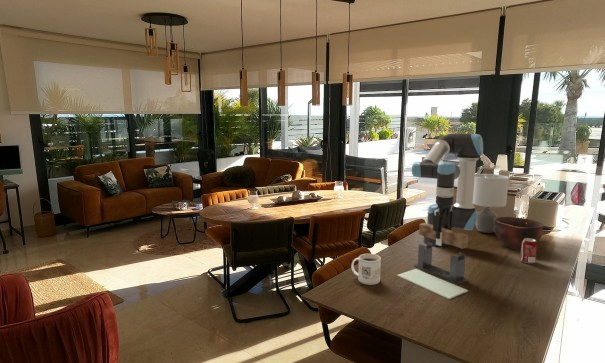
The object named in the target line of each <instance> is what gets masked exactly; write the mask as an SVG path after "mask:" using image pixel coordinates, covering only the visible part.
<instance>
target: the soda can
mask: <svg viewBox="0 0 605 363" xmlns="http://www.w3.org/2000/svg"><path fill="white" fill-rule="evenodd" d="M537 250H538V242H536V240H535V239H532V238H524V240H523V241H522V248H521V250H520V258H519V259H520V261H521V262H522V263H525V264H528V265H531V264H535V263H536V260H537V259H536V258H537Z"/></svg>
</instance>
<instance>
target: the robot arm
mask: <svg viewBox="0 0 605 363" xmlns="http://www.w3.org/2000/svg"><path fill="white" fill-rule="evenodd" d="M451 154H452V155H456V159H458V164H457V163H454V162H451V161H450V162H449V161H442V159H443V158H444V157H445V156H446V155H447V156H448V155H451ZM483 155H484V140H483V137H482V135H481V134H477V133H454V132H453V133H447V134H444V135H443V136H442V135H441V137H439V138H437V139H436V140H435V141H434V142H433V143H432V146H431V148H430V151H429V152H428V153H427V154H426V155H425V157H424V158H423V159H422V160H421V162H420V161H415V162H413V164H412V165H411V174H412V176H413V177H416V178H423V179H434V180H435V179H436V192H435V194H436V196H435V203H433V204H430V205H429V206H428V209H427V210H428V211H427V222H426V223H428V224H431V225H433V231H436V240H434V239H431V238H428V237H425V236H423V238H422V239H423V240H422V241H423V243H424V244H427V242H429V243H432V244H433V246H432V247H446V246H450V245H449V244H446V243H443V242H442V232H441V230H442V228H445V229H449V230H452V229H459V230H464V231H472V230H474V228H475V227H476V225H475V224H476V220H477V216H478V213H479V211H478V210H477V209H476V205H475V204H473V192H474V180H475V174H476V168H477V166H476V165H477V161H478V160H479V159H480V157H481V156H483ZM441 161H442V162H441ZM456 179H457V186H456V188H457V189H456V198H455V199H456V201H455V203H454V197H453V196H454V193H455V192H454V190H455V181H456ZM453 203H454V204H453Z"/></svg>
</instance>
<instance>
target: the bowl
mask: <svg viewBox="0 0 605 363" xmlns="http://www.w3.org/2000/svg"><path fill="white" fill-rule="evenodd" d="M494 222H495V225H494V229H493V231H494V232H493V233H494V234H495V236H496V237H497V238H498V239H499V240H500V241H501V242H502V244H503V245H504V246H505V247H506V248H510V249H512V250H520V251H521V248H522V241H523V240H524V238H532V239H535V240H536V243H538V242H539V241H540V239H541V238H542V236H543V233H542V232H543V228H544V227H545V225H544V224H543V223H542V222H539V221H537V220H532V219H529V218H522V217H515V216H497V217H496V218H494Z"/></svg>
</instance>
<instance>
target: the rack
mask: <svg viewBox="0 0 605 363" xmlns="http://www.w3.org/2000/svg"><path fill="white" fill-rule="evenodd" d="M425 244H426V243H425ZM433 247H434V246H433V244H432V243H429V242H427V244H426V245H423V244H421V243H420V244H419V243H418V255H417V263H415V264H413V267H415V268H416V269H419V270H421V271H423V272H424V271H425V272H426V273H428V274H429V273H430V274H432V275H433V276H436V277H438V278H442V279H443V280H444V279H445V280H446V281H448V282H452V283H453V284H455V285H456V284H457V285H460V284H463V283H466V282H468V281H469V279H468V278H466V277H465V267H466V266H465V264H466V254H465V253H462V252H458V255H457V256H455V255H453V254H451V255H450V259H449V260H450V262H449V263H450V264H449V270H446V269H443V268H441V267H437V266H435V265H432V258H433Z"/></svg>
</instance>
